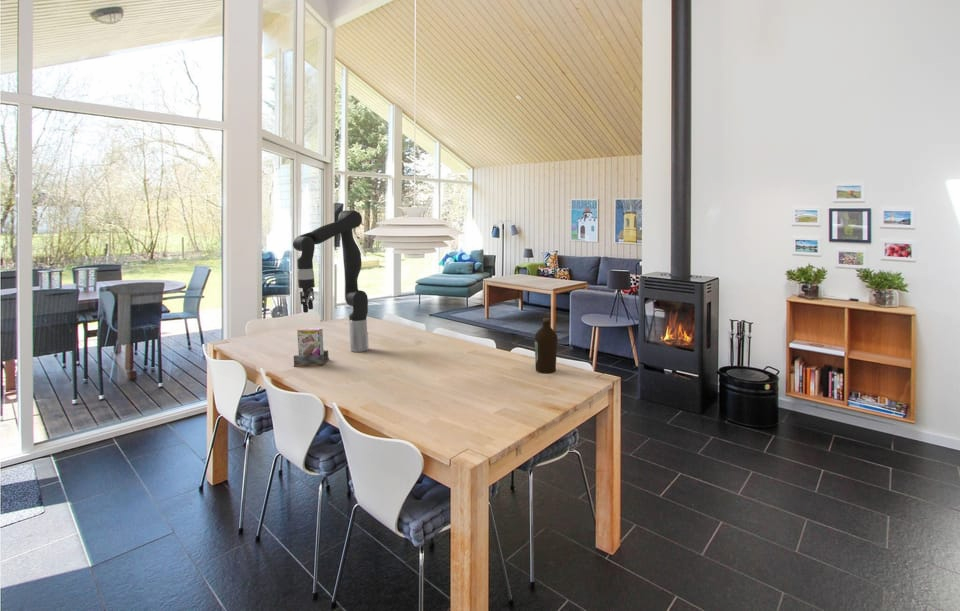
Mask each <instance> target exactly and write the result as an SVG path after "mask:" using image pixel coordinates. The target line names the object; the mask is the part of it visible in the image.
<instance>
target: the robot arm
mask: <svg viewBox="0 0 960 611" xmlns="http://www.w3.org/2000/svg"><path fill="white" fill-rule="evenodd" d="M337 219H338V220H337V221H334V222H330V223H327V224H325V225H322V226H321V225H320V227H317V228H315V229H313V230H312V231H309V232H305V233H303V234H301V235H300V234H299V235H298V236H296V237H295V238H294V239H293V241H292V247H293V249H295V250H296V251H299V252H301V255H300V256H298V257H297V259H296V262H297V283H298V284H297V286H298V287H297V288H299V289H302V291H300V292H299V296H300V305H301V306H302V312H303V313H304V314H306V313H308V312H309V310H314V300H315V293H314V291H315V290H314V288H316V286H315V285H316V284H315V272H314V263H313V259H314V253H315V248H316V247H315V245H320V244H322V243H324V242H326V241H327V240H329V239H331V238H333V237H335V236H337V235H339V234H340V238H341V246H342V257H343V258H342V259H343V268H344V270H343V271H344V283H345V284H344V285H345V286H344V290H345V291H344V298H345V299H344V300H345V302H346V304H347V305H348V306H350V307H352V313H350V314H349V315H348V321H349V322H348V324H349V344H350V351H351V352H353V353H361V352H367V351H368V350H369V332H368V325H367V324H368V322H367V319H368V318H367V316H368V314H369V312H368V310H369V300H368V299H369V297H368V294H367V293H366V292H365V291H364V290H360V289H359V288H358V287H359V285H358V279H359V274H360V273H361V269H362V254H361V251H360V248H359V246H358V244H357V243H356V241H355V238H354V234H353V229H356V228H358V227H360V225H361V224H362V222H363V218H362V215H361V213H360V212H359V211H357V210H342V211H340V213H339V214H338V218H337Z"/></svg>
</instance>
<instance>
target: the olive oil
mask: <svg viewBox="0 0 960 611" xmlns="http://www.w3.org/2000/svg"><path fill="white" fill-rule="evenodd" d="M558 342H559V340H558V334H557V333H556V331H554V329H553V328H552V327H551V319H550V318H549V317H543V318H542V326H541V327H540V328H539V329H538V330H537V332H535V336H534V358H535V366H534V367H535V372H537V373H540V374H553V373H555V372H556V370H557V355H558V353H557V352H558Z"/></svg>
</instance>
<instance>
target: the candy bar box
mask: <svg viewBox="0 0 960 611" xmlns="http://www.w3.org/2000/svg"><path fill="white" fill-rule="evenodd" d="M296 331H297V347H298V348H297V349H298V355H324V333H323V331H324V330H323V328H313V327H312V328H309V327H308V328H307V327H306V328H305V327H300V328H299V329H297V330H296Z"/></svg>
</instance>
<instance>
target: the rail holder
mask: <svg viewBox="0 0 960 611" xmlns="http://www.w3.org/2000/svg"><path fill="white" fill-rule="evenodd" d="M329 360H330V357H329V350H327V349H326V350H324V355H299V354H298V355H297V354H295V355H293V367H298V368H301V367H302V368H304V367H307V368H308V367H324V366H325V365H326V364H327V363H328V361H329ZM323 365H324V366H323Z"/></svg>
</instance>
